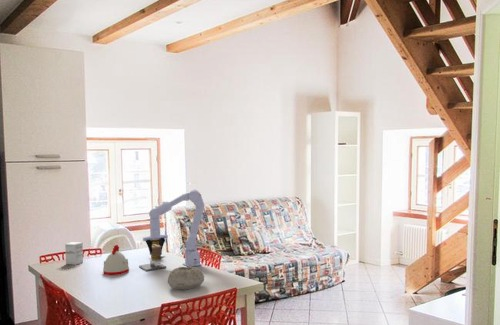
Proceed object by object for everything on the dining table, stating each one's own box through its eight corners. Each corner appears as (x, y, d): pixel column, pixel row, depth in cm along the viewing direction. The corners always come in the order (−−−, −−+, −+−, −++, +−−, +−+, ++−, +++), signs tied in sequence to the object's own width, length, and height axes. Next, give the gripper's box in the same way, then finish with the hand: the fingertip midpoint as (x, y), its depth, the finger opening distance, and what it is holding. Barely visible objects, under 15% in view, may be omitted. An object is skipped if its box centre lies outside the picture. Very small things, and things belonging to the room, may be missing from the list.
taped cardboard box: (161, 254, 262) (161, 245, 262) (152, 256, 259) (152, 246, 259) (158, 253, 266) (158, 243, 266) (149, 254, 264) (149, 244, 264)
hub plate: (166, 267, 258) (166, 261, 258) (146, 271, 252) (146, 264, 251) (158, 263, 268) (158, 257, 268) (139, 267, 262) (138, 260, 262)
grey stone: (187, 280, 231) (187, 261, 230) (212, 286, 219) (211, 266, 219) (160, 289, 217) (159, 269, 217) (185, 296, 206) (184, 274, 205)
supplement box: (65, 264, 273) (64, 243, 273) (73, 261, 280) (72, 241, 280) (75, 265, 271) (74, 244, 271) (83, 262, 278) (82, 242, 278)
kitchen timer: (132, 268, 259) (131, 243, 258) (123, 275, 245) (122, 248, 245) (109, 268, 260) (108, 243, 260) (99, 275, 246) (98, 248, 246)
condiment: (148, 259, 282) (147, 240, 281) (155, 256, 290) (155, 237, 289) (158, 259, 279) (157, 240, 279) (165, 256, 287) (164, 238, 287)
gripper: (164, 226, 269) (164, 249, 270) (140, 229, 262) (141, 252, 262) (168, 228, 264) (169, 251, 264) (144, 230, 256) (145, 254, 256)
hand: (155, 251), depth 263 cm, fingers closed on taped cardboard box, 5 cm apart
